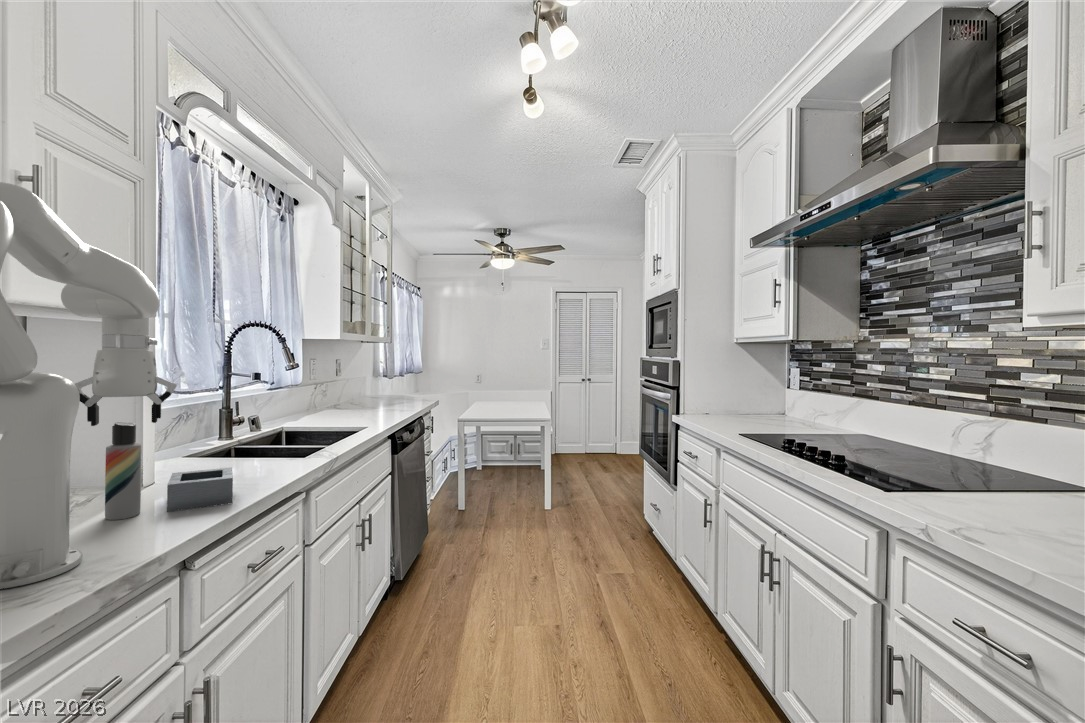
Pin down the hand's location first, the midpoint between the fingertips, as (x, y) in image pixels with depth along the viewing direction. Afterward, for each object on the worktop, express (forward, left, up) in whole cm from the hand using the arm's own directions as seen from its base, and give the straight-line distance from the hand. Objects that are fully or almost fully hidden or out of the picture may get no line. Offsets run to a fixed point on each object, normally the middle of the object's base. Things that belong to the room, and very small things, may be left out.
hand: (125, 423), depth 101 cm
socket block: (+4, -13, -20) cm, 24 cm away
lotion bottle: (-1, 0, -20) cm, 20 cm away
